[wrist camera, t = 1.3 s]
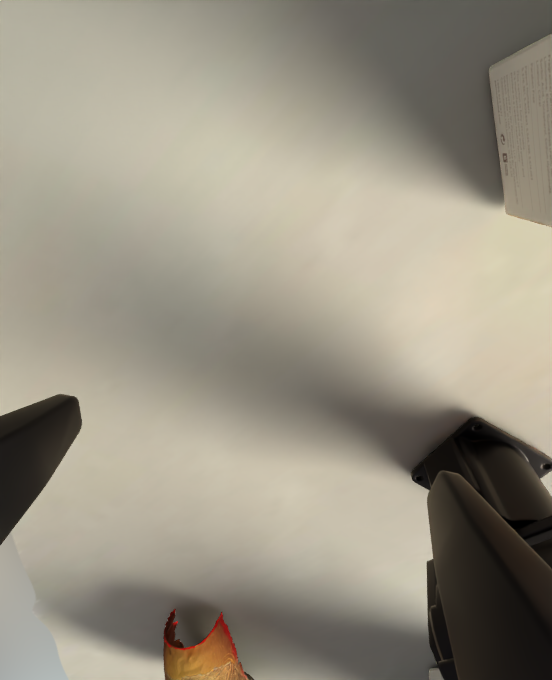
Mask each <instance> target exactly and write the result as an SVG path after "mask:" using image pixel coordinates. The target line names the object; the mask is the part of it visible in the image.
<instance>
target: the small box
mask: <svg viewBox="0 0 552 680" xmlns="http://www.w3.org/2000/svg"><path fill="white" fill-rule="evenodd" d="M489 78H490V85H491V95H492V103H493V112H494V119H495V127H496V136H497V143H498V152H499V159H500V168H501V175H502V183H503V192H504V201H505V210H506V214H508V215H511V216H514V217H518V218H521V219H524V220H528V221H532V222H535V223H539V224H542V225H546V226H550V227H552V33H551V34H550V35H548V36H546V37H544V38H542V39H540V40H538V41H537V42H535V43H533V44H531V45H529V46H527V47H525V48H523V49H522V50H520V51H518V52H516V53H514V54H512V55H511V56H509V57H507V58H505V59H503V60H502V61H500V62H498V63H496V64H494V65H492V66H491V67H490V69H489Z"/></svg>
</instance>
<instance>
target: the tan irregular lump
mask: <svg viewBox="0 0 552 680" xmlns="http://www.w3.org/2000/svg"><path fill="white" fill-rule="evenodd" d="M175 610H176V609H174V610H173V611H172V612H171V613H170V616H169V617H168V618H167V619H168V621H166V624H165V626H166V627H165V629H164V654H163V657H164V672H165V680H254V679H253V678H252V677H251V676H250V675H249V674H247V673H246V672H244V671H243V669H242V665H241V662H240V663H239V664H238V660H237V658H238V657H237V652H236V648H235V644H234V643H233V641H232V637H231V636H230V632H229V630H228V626H227V625H226V624H225V623H224V620H223V615H222V612H221V614H220V617H219V619H218V620H217V621H216V623H215V626H214V627H213V629H212V631H211V632H210V633H209V634H208V636H207V637H206V638H205V639H204V640H203V641H202V642H201V643H199V644H198V645H196V646H190V647H185V648H184V645H183V644H182V642H180V639H178V640H176V641H174V640H175V629H176V626H177V623H178V621H176V622H174V623H173V620H174V618H175Z"/></svg>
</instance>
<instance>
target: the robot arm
mask: <svg viewBox="0 0 552 680" xmlns="http://www.w3.org/2000/svg"><path fill="white" fill-rule="evenodd" d="M478 424H479V425H478ZM475 425H478V426H475ZM81 426H82V419H81V413H80V407H79V401H78V399H77V398H76V397H74V396H69V395H64V394H58V395H56V396H53V397H50V398H48V399H45V400H42V401H40V402H37V403H34V404H32V405H29V406H26V407H24V408H21V409H18V410H16V411H13V412H10V413H8V414H5V415H2V416H0V545H1V544H2V542H3V541H4V540H5V539H6V537H7V536H8V535H9V533H10V532H11V531H12V529H13V528H14V527H15V525H16V524H17V523H18V522H19V520H20V519H21V518H22V516H23V515H24V514H25V512H26V511H27V510H28V508H29V507H30V506H31V504H32V503H33V502H34V501H35V499H36V498H37V497H38V495H39V494H40V493H41V491H42V490H43V488H44V487H45V486H46V484H47V483H48V481H49V480H50V478H51V477H52V475H53V473H54V472H55V470H56V469H57V467H58V465H59V464H60V462H61V461H62V459H63V457H64V456H65V454H66V453H67V451H68V449H69V448H70V446H71V444H72V443H73V441H74V440H75V438H76V436H77V435H78V433H79V431H80V429H81ZM474 426H475V427H474ZM550 471H552V459H551V458H550V457H549V456H547V455H545V454H543V453H542V452H540V451H538V450H536V449H535V448H533V447H531V446H529V445H527V444H526V443H524V442H522V441H520V440H519V439H517V438H515V437H513V436H511V435H510V434H508V433H506V432H504V431H503V430H501V429H499V428H497V427H495V426H494V425H492V424H490V423H488V422H487V421H485V420H483V419H481V418H479V417H474V418H471V419H469V420H468V421H467V422H466V423H465V424H464V425H462V426H461V427H460V428H459V429H458V430H457V431H456V432H455V433H454V434H452V435H451V436H450V437H449V438H448V439H447V440H446V441H445V442H444V443H442V444H441V445H440V446H439V447H438V448H437V449H436V450H435V451H434V452H432V453H431V454H430V455H429V456H428V457H427V458H426V459H425V460H424V461H422V462H421V463H420V464H419V465H418V466H417V467H416V468H415V469H414V470H412V472H411V477H412V480H413V481H414V482H415V483H417V484H419V485H421V486H423V487H425V488H427V489H428V490H430V491H429V494H428V498H427V506H428V515H429V524H430V533H431V542H432V551H433V559H432V560H430V561H427V598H428V630H429V644H430V648H431V650H432V652H433V654H434V657H435V660H436V663H437V665H438V668H439V670H440V673H441V675H442V677H443V679H444V680H552V497H551V495H550V494H549V492H548V491H547V489H546V488H545V486H544V485H543V483H542V482H541V480H540V478H542V477H543V476H545V475H546V474H547V473H549V472H550Z"/></svg>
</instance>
